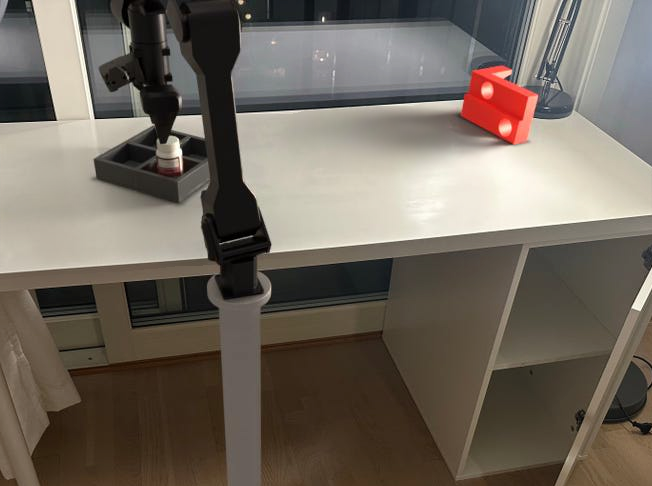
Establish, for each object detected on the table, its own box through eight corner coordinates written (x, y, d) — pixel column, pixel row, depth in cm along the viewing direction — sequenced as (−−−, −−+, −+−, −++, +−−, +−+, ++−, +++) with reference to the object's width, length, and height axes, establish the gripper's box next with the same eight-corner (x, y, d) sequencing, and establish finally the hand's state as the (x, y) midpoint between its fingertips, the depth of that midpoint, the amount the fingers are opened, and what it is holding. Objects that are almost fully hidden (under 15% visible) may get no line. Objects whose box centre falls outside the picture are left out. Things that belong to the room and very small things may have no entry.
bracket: (469, 71, 160) (502, 65, 164) (460, 115, 167) (492, 109, 171) (525, 97, 149) (559, 90, 153) (513, 144, 155) (546, 136, 159)
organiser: (232, 164, 142) (232, 145, 140) (179, 203, 129) (177, 182, 127) (155, 144, 148) (153, 125, 146) (96, 179, 135) (93, 158, 133)
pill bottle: (166, 175, 136) (162, 132, 130) (188, 179, 135) (185, 137, 129) (154, 185, 132) (149, 142, 127) (177, 190, 131) (173, 147, 126)
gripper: (92, 26, 118) (106, 118, 128) (103, 60, 105) (118, 159, 115) (159, 22, 121) (167, 112, 131) (178, 55, 107) (186, 153, 117)
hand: (158, 133), depth 123 cm, fingers open, 9 cm apart
